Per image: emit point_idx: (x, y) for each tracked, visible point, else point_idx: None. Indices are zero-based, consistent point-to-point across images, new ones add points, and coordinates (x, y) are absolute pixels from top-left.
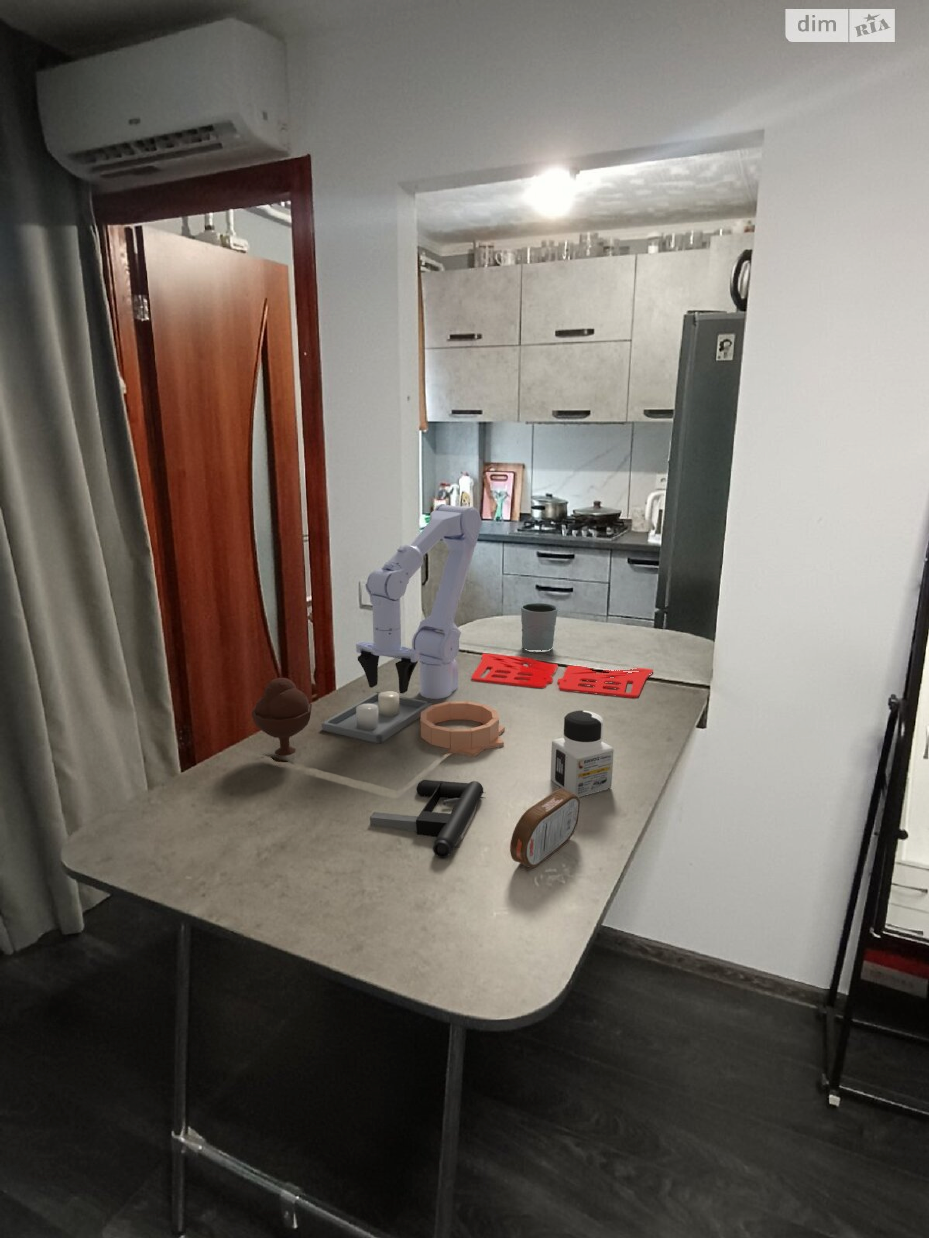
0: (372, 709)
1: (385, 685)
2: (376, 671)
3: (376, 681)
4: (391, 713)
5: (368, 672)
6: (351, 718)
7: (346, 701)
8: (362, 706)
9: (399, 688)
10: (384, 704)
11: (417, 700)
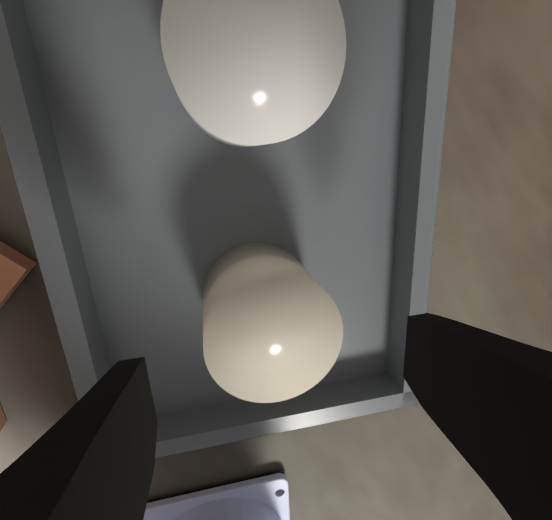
0: (187, 26)
1: (444, 489)
2: (484, 463)
3: (420, 388)
4: (215, 268)
5: (539, 370)
6: (377, 123)
7: (501, 306)
8: (306, 49)
9: (127, 377)
10: (253, 263)
11: (181, 444)
